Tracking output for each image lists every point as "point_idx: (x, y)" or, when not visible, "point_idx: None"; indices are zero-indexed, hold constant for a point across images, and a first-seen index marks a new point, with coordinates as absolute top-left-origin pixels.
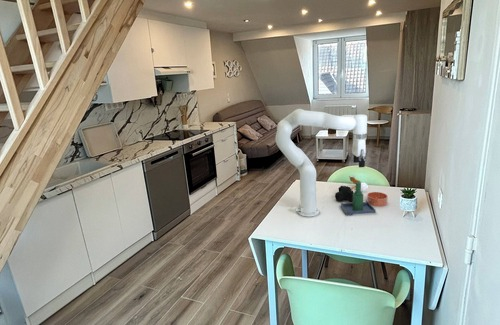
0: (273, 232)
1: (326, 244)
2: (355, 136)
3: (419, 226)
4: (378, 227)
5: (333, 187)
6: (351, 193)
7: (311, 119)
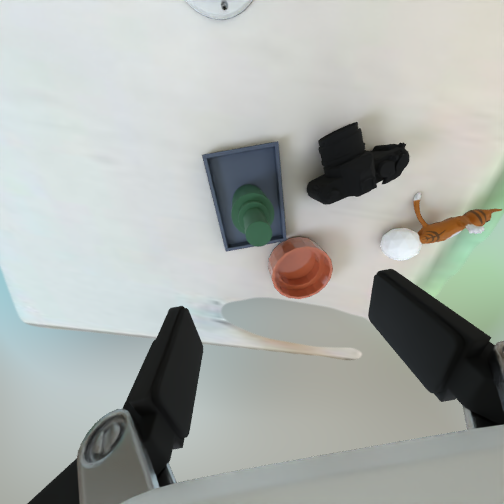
0: None
1: None
2: None
3: None
4: (138, 239)
5: (468, 135)
6: (321, 193)
7: None
